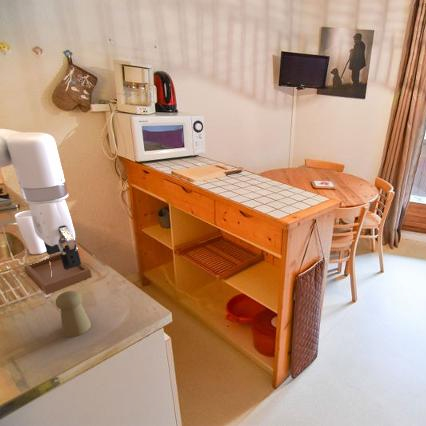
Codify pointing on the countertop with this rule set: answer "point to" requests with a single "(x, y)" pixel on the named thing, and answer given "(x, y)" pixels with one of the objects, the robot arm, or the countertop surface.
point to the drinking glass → (29, 233)
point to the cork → (72, 314)
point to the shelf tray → (56, 274)
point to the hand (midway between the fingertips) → (64, 259)
